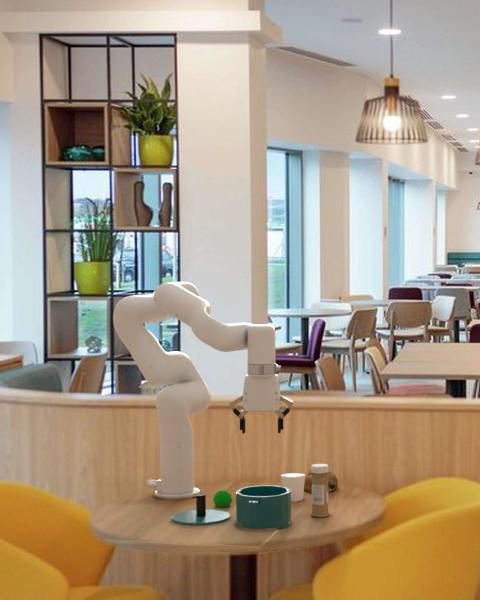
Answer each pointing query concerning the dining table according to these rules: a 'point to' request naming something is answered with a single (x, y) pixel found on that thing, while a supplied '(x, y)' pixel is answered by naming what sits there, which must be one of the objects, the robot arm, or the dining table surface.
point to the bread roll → (331, 481)
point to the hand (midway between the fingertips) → (261, 432)
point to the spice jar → (320, 490)
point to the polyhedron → (222, 498)
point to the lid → (201, 514)
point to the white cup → (294, 485)
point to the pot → (263, 507)
